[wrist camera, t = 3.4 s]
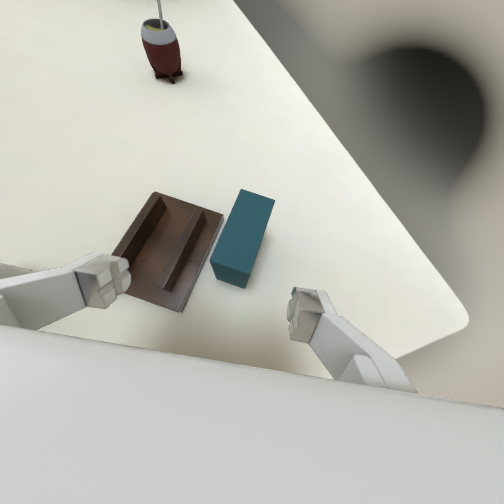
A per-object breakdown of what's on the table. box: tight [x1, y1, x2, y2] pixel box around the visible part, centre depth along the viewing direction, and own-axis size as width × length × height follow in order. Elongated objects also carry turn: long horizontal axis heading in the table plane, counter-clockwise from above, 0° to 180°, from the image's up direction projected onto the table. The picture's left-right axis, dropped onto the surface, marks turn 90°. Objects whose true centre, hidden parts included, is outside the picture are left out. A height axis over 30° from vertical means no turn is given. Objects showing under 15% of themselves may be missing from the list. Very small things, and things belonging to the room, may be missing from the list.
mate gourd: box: [141, 0, 183, 84], centre depth 36 cm, size 8×8×15 cm
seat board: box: [111, 192, 223, 312], centre depth 26 cm, size 16×12×4 cm
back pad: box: [210, 189, 275, 289], centre depth 25 cm, size 10×4×9 cm, turn 162°
